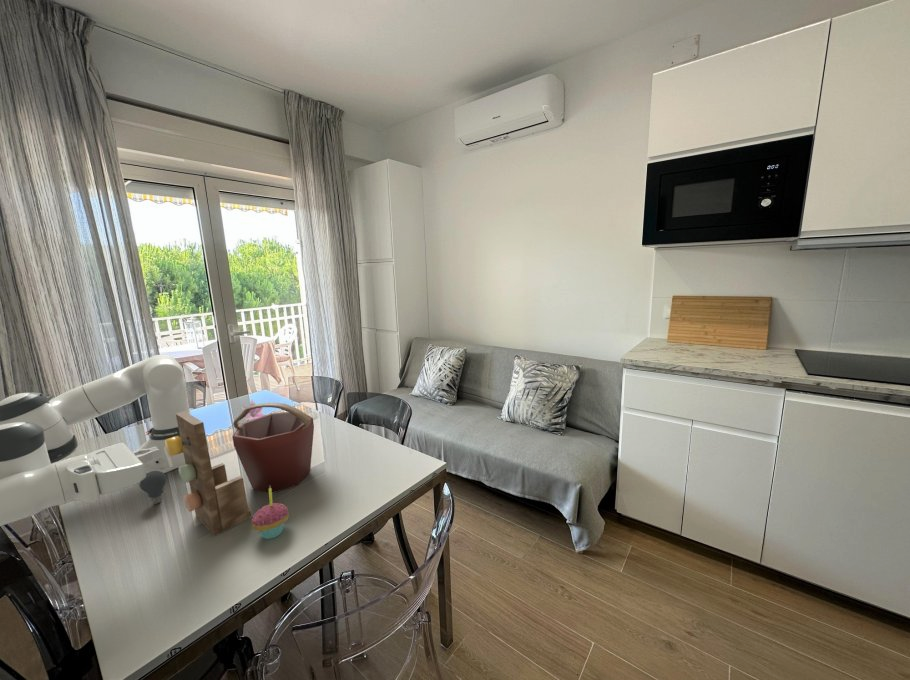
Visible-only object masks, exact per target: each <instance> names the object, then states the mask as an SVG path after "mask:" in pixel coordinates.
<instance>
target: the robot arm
mask: <svg viewBox="0 0 910 680" xmlns="http://www.w3.org/2000/svg"><path fill="white" fill-rule="evenodd" d="M186 384H187V383H186V377H185V371H184V368H183V367H182V365H181V364H180V362H178V360H176V359H175V358H174V357H173V356H171V355H168V354H156V355H153V356H149V357H148V358H145V359H143V360H141V361H138V362H136V363H134V364H132V365H131V364H130V365H129V366H127V367H124V368H122V369H119V370H118V371H116V372H113V373H111V374H108V375H106V376H102V377H100V378H98V379H96V380H92V381H90V382H87V383H84V384H81V385H79V386H76V387H73V388H71V389H70V390H67V391H65V392H63V393H61V394H59V395H58V396H55V397H54V395H52V394H44V393H41V392H35V391H28V392H21V393H15V394H13V395H10V396H7V397H6V398H3V399H1V400H0V527H2V526H5V525H7V524H12V523H15V522H18V521H20V520H23V519H26V518H29V517H32V516H34V515H37V514H39V513H40V512H42V511H44V510H46V509H49V508H52V507H56V506H62V505H63V506H64V505H66V504H68V503H71V502H81V503H84V504H92V503H94V502H97V501H99V500H100V499H101V496H105V495H106V496H107V495H110V494H113V493H117V492H119V491H121V490H124V489H126V488H129V487H131V486H134V485H135V484H138V483H140V481H142V480H143V479H144V478H146V474H147V473H149V472H151V471H161V472H163V473H164V474H166V473H169V472H170V471H171V472H172V471H173V470H176V469H178V468H179V467H180V466H182V465H185V464H186V463H185V458H184V453H180V454H177V455H174V456H171V457H170V456H169V455H168V453H167V450H166V446H165V440H166V439H169V438H172V437H175V436H179V437H180V433H179V428H178V423H177V418H176V413H180V412H184V411H185V412H187V413H188V414H190V415H191V410H190V406H189V405H190V404H189V401H188V400H189V399H188V392H187V391H188V390H187V385H186ZM145 395H146V400H147V404H148V409H149V412H150V418H151V422H152V423H151V424H152V428H150V429H149V430H148V431H146V432H145V433H146V434H145V435H146V436H148V435H149V438H148V439H147V440H146V441H145V442H144V443H143V444H142V445H141V446H140V447H138V448H137V449H136V450H133V451H132V450H131V449H130V448H129V447H128V445H127V444H125V442H118V443H115V444H112V445H109V446H105V447H102V448H99V449H95V450H93V451H91V452H89V453H87V454H86V453H83V454H80V455H77V456H71V457H69V456H70V455H72V454H73V453H74V452H75V451H76V449H77V448H78V446H79V443H78V440H77V437H76V435H75V434H73V433H72V430H71V428H70V426H74V425H76V424H81V423H83V422H87V421H90V420H93V419H95V418H97V417H100V416H103V415H105V414H107V413H110V412H112V411H115V410H117V409H119V408H121V407H123V406H126V405H129V404H131V403H133V402H134V401H136V400H138V399H140V398H141V397H143V396H145ZM180 439H181V438H180ZM67 457H69V458H67Z"/></svg>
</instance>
